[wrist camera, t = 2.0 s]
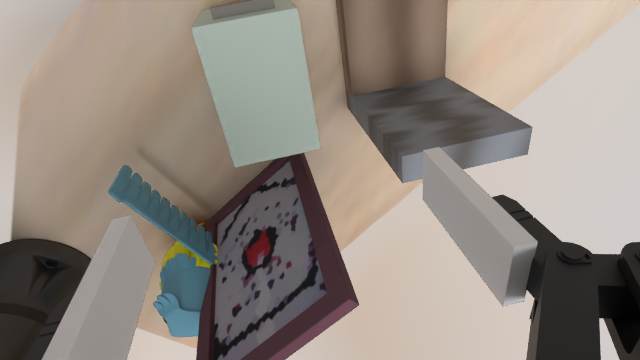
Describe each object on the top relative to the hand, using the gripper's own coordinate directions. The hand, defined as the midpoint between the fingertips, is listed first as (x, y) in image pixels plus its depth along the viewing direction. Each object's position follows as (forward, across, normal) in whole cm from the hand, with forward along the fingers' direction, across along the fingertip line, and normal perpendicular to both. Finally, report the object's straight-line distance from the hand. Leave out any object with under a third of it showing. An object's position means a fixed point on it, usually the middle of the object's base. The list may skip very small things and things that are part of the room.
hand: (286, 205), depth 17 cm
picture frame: (+28, -2, -19) cm, 34 cm away
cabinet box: (+28, 0, 0) cm, 28 cm away
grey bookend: (+28, +15, 0) cm, 32 cm away
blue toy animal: (+28, -13, -21) cm, 38 cm away
